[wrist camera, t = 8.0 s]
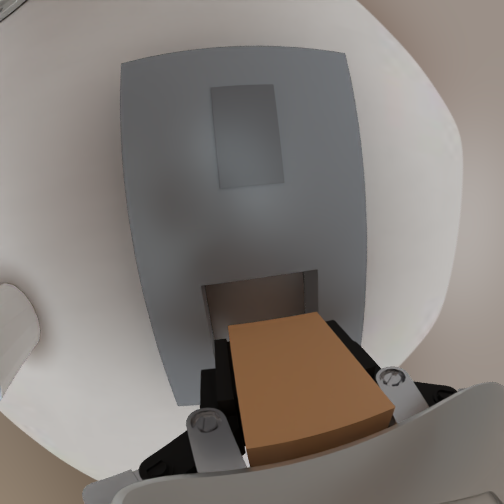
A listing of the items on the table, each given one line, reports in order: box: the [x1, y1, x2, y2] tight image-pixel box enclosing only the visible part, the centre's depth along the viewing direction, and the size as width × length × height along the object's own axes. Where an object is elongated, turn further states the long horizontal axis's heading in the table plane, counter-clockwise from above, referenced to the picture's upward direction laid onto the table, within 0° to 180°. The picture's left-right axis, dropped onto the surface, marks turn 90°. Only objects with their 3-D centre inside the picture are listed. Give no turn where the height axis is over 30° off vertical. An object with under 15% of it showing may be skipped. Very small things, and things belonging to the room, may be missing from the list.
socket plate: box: [120, 46, 367, 406], centre depth 14 cm, size 20×12×3 cm, turn 6°
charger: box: [228, 312, 395, 467], centre depth 8 cm, size 4×4×8 cm
